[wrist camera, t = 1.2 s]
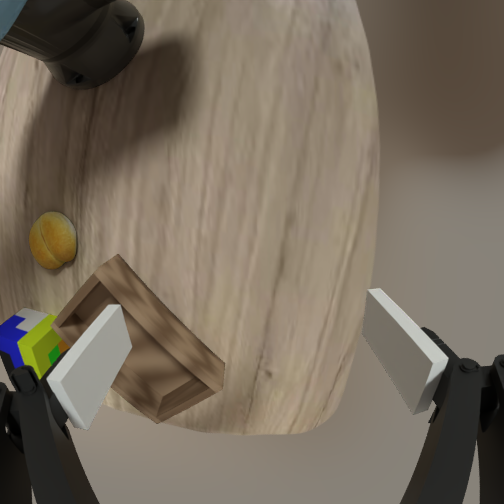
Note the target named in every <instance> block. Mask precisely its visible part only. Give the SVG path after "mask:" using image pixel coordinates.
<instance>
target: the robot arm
mask: <svg viewBox="0 0 504 504" xmlns="http://www.w3.org/2000/svg"><path fill="white" fill-rule="evenodd" d="M143 35H144V21H143V18H142V16H141V14H140V13H139V11H138V10H137V9H136V7H135V6H134V5H132V4H131V3H130V2H128V1H126V0H0V44H1V45H4V46H6V47H8V48H11V49H14V50H16V51H19V52H22V53H24V54H27V55H29V56H32V57H34V58H36V59H39V60H41V61H43V62H44V63H45V65H46V66H47V68H48V69H49V71H50V72H51V73H52V75H53V76H54V78H55V79H56V80H57V81H58V82H60V83H61V84H63V85H65V86H68V87H70V88H73V89H89V88H93V87H96V86H98V85H101V84H103V83H105V82H106V81H108V80H110V79H111V78H113V77H114V76H115V75H117V74H118V73H119V72H120V71H121V70H122V69H123V68H124V67H125V66H126V65H127V64H128V63H129V62H130V61H131V59H132V58H133V57H134V55H135V54H136V52H137V50H138V49H139V47H140V44H141V42H142V39H143ZM362 335H363V336H364V338H365V339H366V341H367V342H368V344H369V345H370V347H371V348H372V350H373V351H374V353H375V355H376V356H377V358H378V359H379V361H380V362H381V364H382V366H383V367H384V369H385V370H386V372H387V373H388V375H389V377H390V378H391V380H392V381H393V383H394V385H395V386H396V388H397V389H398V391H399V393H400V394H401V396H402V398H403V399H404V401H405V402H406V404H407V406H408V408H409V409H410V411H411V412H412V414H413V415H414V414H417V413H420V412H423V411H426V410H428V408H429V406H430V404H431V402H432V400H433V401H434V402H435V404H436V405H437V406H436V408H435V410H434V412H433V414H432V416H431V418H430V420H429V422H428V423H430V427H429V430H428V433H427V437H426V440H425V443H424V446H423V449H422V452H421V455H420V457H419V460H418V463H417V465H416V468H415V471H414V473H413V475H412V478H411V481H410V483H409V485H408V487H407V490H406V492H405V494H404V496H403V498H402V500H401V502H400V504H462V502H463V499H464V496H465V492H466V488H467V485H468V480H469V476H470V472H471V467H472V462H473V457H474V451H475V445H476V440H477V446H478V458H479V475H480V504H504V355H498V356H497V357H495V360H494V362H493V364H492V366H483V367H481V366H480V365H479V364H478V363H477V362H476V361H474V360H471V359H469V358H462V359H460V358H459V357H458V356H457V355H456V354H455V353H454V352H453V351H452V350H451V349H450V348H449V347H448V346H447V345H446V344H444V342H443V341H442V340H441V339H439V337H438V336H437V335H436V334H435V333H434V332H433V331H431V330H429V329H427V328H425V327H422V328H419V327H418V326H417V324H415V322H414V321H413V320H412V319H411V318H410V317H409V316H408V315H407V314H406V313H404V311H403V310H401V309H400V308H399V307H398V306H397V304H395V303H394V302H393V301H392V300H391V299H390V298H389V297H388V296H387V295H386V294H385V293H384V292H383V291H382V290H381V289H380V288H377V289H369V290H367V296H366V305H365V314H364V321H363V329H362ZM131 348H132V344H131V341H130V338H129V334H128V331H127V327H126V324H125V320H124V316H123V312H122V308H121V305H108V306H107V307H106V308H105V309H104V310H103V311H102V313H101V314H100V315H99V316H98V317H97V318H96V319H95V321H94V322H93V323H92V324H91V325H90V326H89V327H88V329H87V330H86V331H85V332H84V333H83V334H82V336H81V337H80V338H79V339H78V340H77V342H76V343H75V344H74V345H73V346H72V348H68V349H67V350H65V351H64V352H63V353H61V354H60V356H59V357H58V358H57V359H56V361H55V362H54V363H53V364H52V366H50V368H49V369H48V370H47V371H46V373H45V374H44V375H43V376H42V378H41V379H40V380H39V378H38V376H37V374H36V372H35V370H34V368H33V367H32V366H30V365H23V366H20V367H17V368H16V369H14V370H13V371H12V372H11V374H10V376H9V379H10V381H11V383H12V385H13V386H14V388H15V390H16V391H9V390H8V388H7V386H6V385H5V384H4V383H2V382H0V504H32V489H33V492H34V496H35V499H36V502H37V504H99V502H98V500H97V498H96V496H95V494H94V492H93V490H92V487H91V485H90V483H89V481H88V479H87V476H86V474H85V472H84V469H83V467H82V465H81V462H80V460H79V457H78V455H77V452H76V450H75V447H74V444H73V441H72V438H71V435H70V432H69V429H68V427H67V426H66V424H65V423H66V421H67V419H68V418H69V419H70V421H71V423H72V424H73V426H74V427H76V428H80V429H84V430H89V428H90V426H91V423H92V422H93V420H94V418H95V416H96V413H97V411H98V410H99V408H100V406H101V404H102V402H103V400H104V398H105V396H106V394H107V392H108V390H109V389H110V387H111V385H112V383H113V381H114V379H115V377H116V376H117V374H118V372H119V370H120V368H121V366H122V365H123V363H124V361H125V359H126V357H127V355H128V354H129V352H130V350H131ZM5 426H6V427H7V429H8V432H7V433H6V429H5ZM31 485H32V488H31Z"/></svg>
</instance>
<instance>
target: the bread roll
mask: <svg viewBox="0 0 504 504" xmlns="http://www.w3.org/2000/svg"><path fill="white" fill-rule="evenodd" d="M76 242H77V241H76V230H75V228H74V226H73V224H72V223H71V221H70V220H69V219H68V218H67V217H66V216H65V215H63V214H61V213H59V212H53V211H52V212H46V213H44V214H43V215H41V217H40V218H38V219H37V220H36V221H35V223H34V224H33V226H32V228H31V231H30V234H29V245H30V249H31V252H32V254H33V256H34V258H35V259H36V261H37V262H38V263H39V264H40V265H41V266H42V267H44V268H46V269H56V268H59V267H60V266H61V265H62V264H63V263H64V262H68V261H71V260H72V259H73V258H74V256H75V254H76Z"/></svg>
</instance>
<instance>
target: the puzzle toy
mask: <svg viewBox="0 0 504 504" xmlns="http://www.w3.org/2000/svg"><path fill="white" fill-rule="evenodd" d="M56 318H57V316H54V315H50V314H46V313H43V312H39V311H35V310H32V309H28V308H25V307H24V308H23V309H21V310H20V311H19V312H17V313H16V314H15V315H13V316H12V317H11V318H9V319H8V320H7V321H5V322H4V323H3V324H2V325H0V356H1V359H2V361H3V364H4V366H5V369H6V371H7V374H8V376H10V374H11V372H12V371H13V370H14V369H16V368H17V367H20V366H23V365H30V366H32V367H33V368H34V370H35V372H36V374H37V376H38V378H39V380H40V379H41V378H42V376H43V375H44V374H45V373H46V371H47V370H48V369H49V368H50V366H52V364H53V363H54V362H55V361H56V359H57V358H58V357H59V356H60V354H61V353H63V352H64V351H65V350H67V349H68V348H70V347H69V346H68V345H67V344H66V343H65V342H64V341H63V340H62V339H61V337H60V336H59V335H58V334H57V333H56V332H55V331H54V330H53V328H52V327H51V326H50V325H51V324H52V323H53V321H54V320H55V319H56Z"/></svg>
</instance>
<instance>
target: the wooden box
mask: <svg viewBox="0 0 504 504" xmlns="http://www.w3.org/2000/svg"><path fill="white" fill-rule="evenodd" d="M108 305H121V308H122V312H123V316H124V320H125V324H126V327H127V331H128V334H129V338H130V341H131V344H132V348H131V350H130V352H129V354H128V355H127V357H126V359H125V361H124V363H123V365H122V366H121V368H120V370H119V372H118V374H117V376H116V377H115V379H114V381H113V383H112V385H111V388H112V389H114V390H115V391H116V392H117V393H118V394H119V395H121V396H122V397H123V398H124V399H125V400H127V401H128V402H129V403H130V404H131V405H133V406H134V407H135V408H136V409H138V410H139V411H140V412H142V413H143V414H144V415H146V416H147V417H148V418H150V419H151V420H152V421H154V422H155V423H156V424H158V423H160V422H162V421H164V420H166V419H168V418H170V417H172V416H174V415H176V414H178V413H180V412H182V411H184V410H186V409H188V408H190V407H191V406H193V405H195V404H197V403H199V402H201V401H202V400H204V399H206V398H208V397H210V396H211V395H213V394H215V393H217V392H218V391H220V390H222V389H223V380H224V370H225V363H224V362H223V361H222V360H221V359H220V358H219V357H218V356H216V355H215V354H214V353H213V352H212V351H211V350H210V349H209V348H208V347H207V346H206V345H205V344H204V343H202V342H201V341H200V340H199V339H198V338H197V337H196V336H195V335H194V334H193V333H192V332H191V331H190V330H189V329H188V328H187V327H186V326H185V325H184V324H183V323H182V322H181V321H180V320H179V319H178V318H177V317H176V316H175V315H174V314H173V313H172V312H171V311H170V310H169V309H168V308H167V307H166V306H165V305H164V304H163V303H162V302H161V301H160V300H159V298H158V297H157V296H156V295H155V294H154V293H153V292H152V291H151V290H150V289H149V288H148V287H147V286H146V285H145V283H144V282H143V281H142V280H141V279H140V278H139V277H138V276H137V275H136V273H135V272H134V271H133V270H132V269H131V268H130V267H129V265H128V264H127V263H126V262H125V261H124V260H123V259H122V257H121V256H120V255H119V254H117V255H116V256H114V257H113V258H111V259H110V260H108V261H107V262H106V263H104V264H103V265H101V266H100V267H99V268H98V269H97V270H96V271H95V272H94V273H93V274H92V275H91V277H90V278H89V279H88V280H87V281H86V282H85V284H84V285H83V286H82V287H81V288H80V289H79V291H78V292H77V293H76V294H75V295H74V296H73V298H72V299H71V300H70V301H69V303H68V304H67V305H66V306H65V307H64V309H63V310H62V311H61V312H60V314H59V315H58V316H57V318H56V319H55V320H54V321H53V323H52V324H51V325H50V326H51V327H52V328H53V330H54V331H55V332H56V333H57V334H58V335H59V336H60V337H61V339H62V340H63V341H64V342H65V343H66V344H67V345H68V346H69V347H70V348H72V346H73V345H74V344H75V343H76V342H77V340H78V339H79V338H80V337H81V336H82V334H83V333H84V332H85V331H86V330H87V329H88V327H89V326H90V325H91V324H92V323H93V322H94V321H95V319H96V318H97V317H98V316H99V315H100V314H101V313H102V311H103V310H104V309H105V308H106V307H107V306H108Z"/></svg>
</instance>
